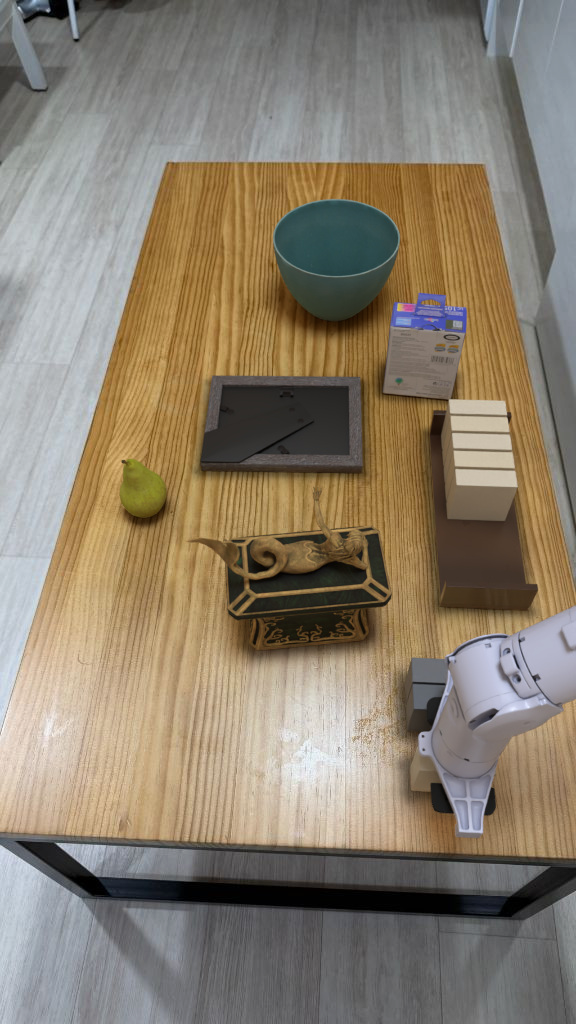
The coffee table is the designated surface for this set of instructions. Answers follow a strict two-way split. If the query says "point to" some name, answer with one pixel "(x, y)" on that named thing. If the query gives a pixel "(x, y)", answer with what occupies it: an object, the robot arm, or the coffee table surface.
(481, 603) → the book rack
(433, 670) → the grey books
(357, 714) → the coffee table surface
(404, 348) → the ink cartridge box
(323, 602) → the decorative box
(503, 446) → the cream books
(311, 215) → the teal bowl
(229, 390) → the picture frame
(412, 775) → the cream book
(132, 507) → the fruit
